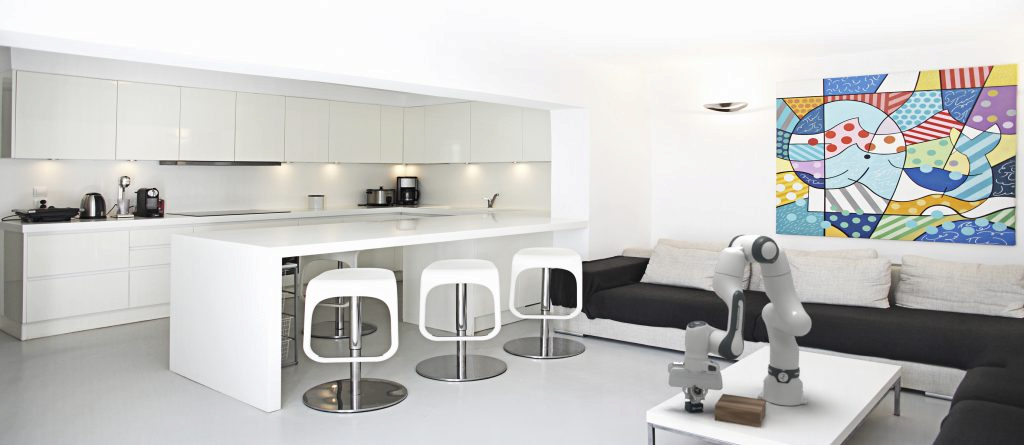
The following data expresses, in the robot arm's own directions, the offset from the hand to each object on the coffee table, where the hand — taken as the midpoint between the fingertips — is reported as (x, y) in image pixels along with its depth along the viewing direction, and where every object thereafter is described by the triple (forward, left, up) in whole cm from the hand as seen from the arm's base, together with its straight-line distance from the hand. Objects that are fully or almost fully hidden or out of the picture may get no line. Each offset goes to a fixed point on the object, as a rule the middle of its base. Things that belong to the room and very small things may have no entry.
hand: (694, 399), depth 279 cm
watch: (0, 0, -5) cm, 5 cm away
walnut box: (0, +17, -5) cm, 18 cm away
